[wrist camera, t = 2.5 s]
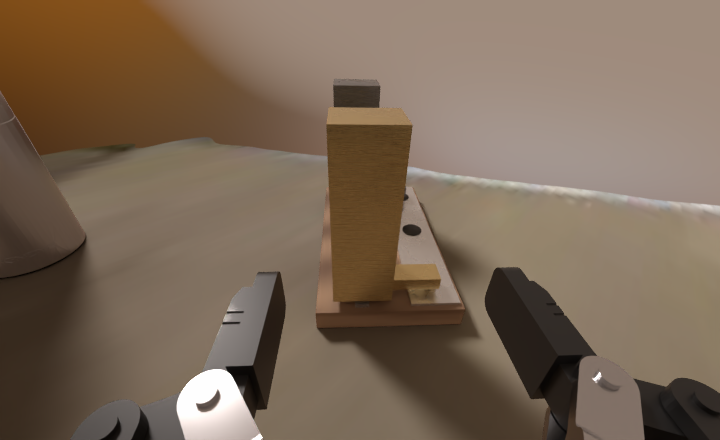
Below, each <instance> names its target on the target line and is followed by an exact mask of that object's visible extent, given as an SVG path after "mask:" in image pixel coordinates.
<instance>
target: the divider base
mask: <svg viewBox="0 0 720 440" xmlns="http://www.w3.org/2000/svg"><path fill="white" fill-rule="evenodd" d="M333 86H334V87H333V90H334V107H346V108H379V101H380V85H379V83H378V82H377V80H359V79H355V80H354V79H334V84H333ZM396 264H436V267H437V269H438V272H439V275H440V277H441V283H440V287H439V289H417V290H393V292H392V300H389V301H347V302H333V282H332V256H331V229H330V203H329V187H327V190H326V201H325V212H324V224H323V235H322V247H321V258H320V269H319V281H318V292H317V304H316V323H317V328H339V327H373V326H408V325H442V324H461V321H462V318H463V315H464V312H465V307H464V305H463V303H462V300H461V298H460V296H459V293H458V291H457V289H456V286H455V284H454V282H453V279H452V277H451V275H450V272H449V270H448V268H447V265H446V263H445V261H444V258H443V256H442V254H441V251H440V249H439V247H438V244H437V242H436V240H435V237H434V235H433V233H432V230H431V228H430V226H429V223H428V221H427V218H426V216H425V214H424V211H423V209H422V207H421V204H420V202H419V200H418V197H417V195H416V193H415V190H414V188H413V187H406V186H405V192H404V200H403V209H402V217H401V225H400V234H399V242H398V250H397V259H396Z"/></svg>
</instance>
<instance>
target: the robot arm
mask: <svg viewBox="0 0 720 440" xmlns="http://www.w3.org/2000/svg"><path fill="white" fill-rule="evenodd" d="M84 239H85V232H84V230H83V229H82V227H81V225H80V224H79V222H78V220H77V219H76V217H75V215H74V214H73V212H72V210H71V208H70V207H69V205H68V203H67V201H66V200H65V198H64V196H63V195H62V193H61V191H60V190H59V188H58V186H57V185H56V183H55V181H54V180H53V178H52V176H51V175H50V173H49V171H48V170H47V168H46V166H45V165H44V163H43V161H42V160H41V158H40V156H39V155H38V153H37V152H36V150H35V148H34V146H33V145H32V143H31V141H30V140H29V138H28V136H27V135H26V133H25V131H24V130H23V128H22V127H21V125H20V123H19V121H18V120H17V118H16V116H15V115H14V113H13V112H12V110H11V108H10V107H9V106H8V104H7V102H6V100H5V99H4V97H3V95H2V93H1V92H0V278H5V277H11V276H17V275H21V274H25V273H29V272H32V271H35V270H38V269H41V268H43V267H46V266H48V265H50V264H53V263H55V262H57V261H59V260H61V259H63V258H64V257H66V256H67V255H69V254H71V253H72V252H73V251H75V250H76V249H77V248H78V247H79V246H80V245H81V244H82V243H83V241H84ZM485 307H486V311H487V313H488V315H489V317H490V319H491V321H492V323H493V325H494V327H495V329H496V331H497V333H498V335H499V337H500V339H501V341H502V343H503V345H504V347H505V349H506V351H507V353H508V355H509V357H510V359H511V361H512V363H513V365H514V367H515V369H516V371H517V373H518V375H519V376H520V378H521V380H522V382H523V384H524V386H525V388H526V390H527V392H528V394H529V396H530V398H531V399H542V398H545V400H546V401H547V403H548V405H549V406H548V408H547V410H546V414H545V421H544V427H543V434H542V440H720V393H718V392H717V391H715V390H714V389H712V388H710V387H709V386H707V385H705V384H703V383H700V382H698V381H695V380H692V379H688V378H677V379H675V380H673V381H672V382H671V383H670V384H669V385H668V386H667V387H664V386H660V385H656V384H653V383H649V382H645V381H641V380H637V379H633V378H632V377H631V376H630V375H629V374H628V373H627V372H626V371H625V370H624V369H623V368H621V367H620V366H619V365H617V364H616V363H614V362H612V361H610V360H608V359H605V358H603V357H599V356H597V355H596V354H595V353H594V352H593V350H592V349H591V348H590V346H589V345H588V344H587V342H586V341H585V340H584V339H583V337H582V336H581V335H580V333H579V332H578V331H577V329H576V328H575V327H574V326H573V324H572V323H571V322H570V320H569V319H568V318H567V316H564V313H563V311H562V310H561V309H560V307H559V306H557V305H556V302H555V301H554V300H553V298H552V297H551V296H550V294H549V293H548V292H547V291H546V290H545V289H544V288H542V287H541V286H540V285H538V284H537V283H536V282H534V281H529V280H528V278H527V277H526V276H525V274H524V273H523V272H522V270H521V269H520V268H518V267H506V268H496V269H495V270H494V272H493V275H492V278H491V281H490V284H489V287H488V290H487V292H486V295H485ZM285 310H286V304H285V296H284V290H283V284H282V279H281V274H280V272H258V273H257V275H256V278H255V281H254V284H253V287H242V288H241V289H240V291H239V292H238V293H237V294H236V295H235V296H234V297H233V298H232V300H231V303H230V305H229V308H228V310H227V314H226V315H225V317H224V320H223V324H222V325H221V327H220V330H219V332H218V335H217V337H216V340H215V342H214V345H213V347H212V350H211V352H210V354H209V357H208V359H207V362H206V364H205V367H204V369H203V371H202V372H201V374H200V375H198V376H197V377H195V378H194V379H193V380H191V381H190V382H189V383H188V384H187V385H186V386H185V388H184V389H183V390H182V391H181V392H179V393H177V394H175V395H173V396H170V397H168V398H165V399H162V400H159V401H156V402H153V403H150V404H148V405H145V406H142V407H139V406H138V405H137V404H136V403H135V402H134V401H132V400H127V399H124V400H117V401H113V402H110V403H108V404H106V405H104V406H102V407H100V408H99V409H97V410H96V411H94V412H93V413H92V414H91V415H89V416H88V417H87V418H86V419H85V420H84V421H83V422H82V423H81V424H80V426H79V427H78V428H77V430H76V431H75V433H74V434H73V436H72V437H71V439H70V440H263V438H262V436H261V434H260V432H259V430H258V428H257V426H256V424H255V422H254V417H255V413H256V410H261V409H267V404H268V399H269V394H270V389H271V384H272V379H273V374H274V369H275V364H276V359H277V354H278V349H279V344H280V339H281V334H282V329H283V324H284V319H285Z"/></svg>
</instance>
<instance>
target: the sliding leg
mask: <svg viewBox="0 0 720 440" xmlns="http://www.w3.org/2000/svg"><path fill="white" fill-rule="evenodd" d="M411 133H412V124H411V122H410V120H409V119H408V118H407V116H406V115H405V113H404V112H403V110H402V109H401V108H346V107H329V110H328V117H327V150H328V177H329V203H330V229H331V256H332V282H333V302H347V301H389V300H392V292H393V290H417V289H439V287H440V283H441V277H440V275H439V272H438V269H437V267H436V264H396V259H397V250H398V242H399V234H400V225H401V217H402V209H403V200H404V192H405V184H406V175H407V167H408V158H409V150H410V141H411Z"/></svg>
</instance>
